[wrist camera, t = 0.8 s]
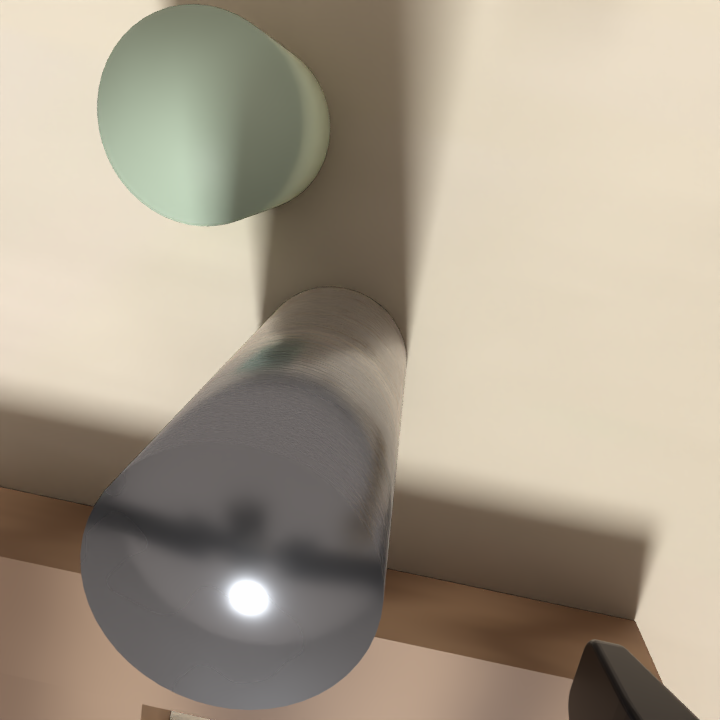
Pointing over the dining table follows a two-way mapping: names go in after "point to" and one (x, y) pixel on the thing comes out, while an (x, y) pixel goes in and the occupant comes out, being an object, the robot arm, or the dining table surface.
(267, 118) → the short pin
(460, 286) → the dining table surface
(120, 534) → the long pin
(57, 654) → the board
